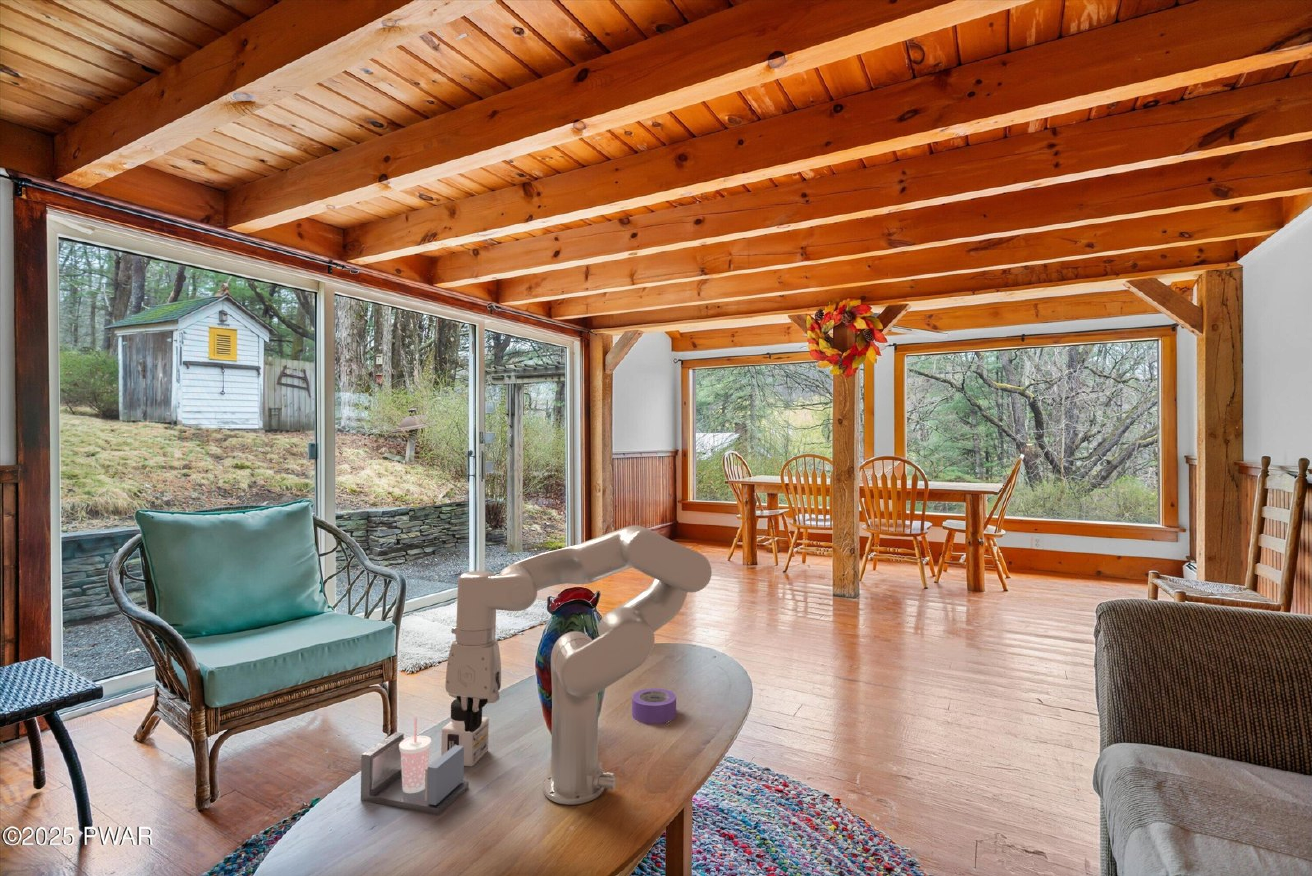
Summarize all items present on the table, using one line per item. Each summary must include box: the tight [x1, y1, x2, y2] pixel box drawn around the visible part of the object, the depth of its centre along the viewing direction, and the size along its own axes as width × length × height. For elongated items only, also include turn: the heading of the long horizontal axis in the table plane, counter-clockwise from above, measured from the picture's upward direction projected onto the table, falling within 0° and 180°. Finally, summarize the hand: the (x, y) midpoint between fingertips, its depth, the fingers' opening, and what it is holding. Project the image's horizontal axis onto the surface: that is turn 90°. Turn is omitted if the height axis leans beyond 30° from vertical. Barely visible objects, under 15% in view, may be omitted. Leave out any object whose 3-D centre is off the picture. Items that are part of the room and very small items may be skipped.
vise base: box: [360, 731, 470, 816], centre depth 124 cm, size 18×10×9 cm, turn 74°
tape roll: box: [631, 687, 677, 725], centre depth 162 cm, size 12×12×5 cm
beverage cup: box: [399, 716, 432, 793], centre depth 124 cm, size 6×6×14 cm
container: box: [440, 698, 490, 767], centre depth 139 cm, size 8×8×13 cm
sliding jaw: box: [425, 745, 465, 805], centre depth 122 cm, size 2×9×7 cm, turn 164°
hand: (472, 728), depth 120 cm, fingers closed
